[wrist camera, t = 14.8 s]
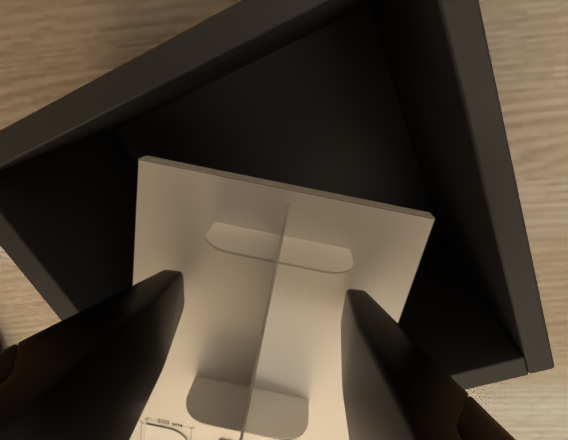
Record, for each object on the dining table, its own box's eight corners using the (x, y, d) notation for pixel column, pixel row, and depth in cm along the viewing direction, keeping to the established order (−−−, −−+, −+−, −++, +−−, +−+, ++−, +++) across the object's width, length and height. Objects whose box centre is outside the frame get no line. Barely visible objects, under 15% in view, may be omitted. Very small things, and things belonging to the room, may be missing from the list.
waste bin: (377, -21, 13) (456, -117, 6) (452, 238, 17) (556, 369, 10) (105, 117, 16) (-67, 165, 9) (223, 313, 20) (173, 459, 13)
